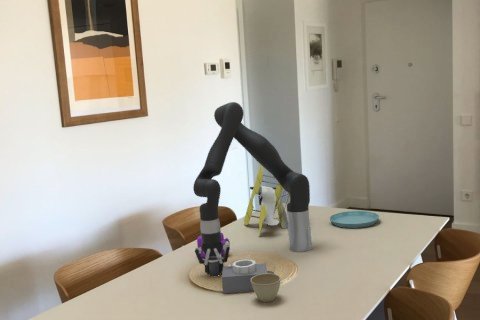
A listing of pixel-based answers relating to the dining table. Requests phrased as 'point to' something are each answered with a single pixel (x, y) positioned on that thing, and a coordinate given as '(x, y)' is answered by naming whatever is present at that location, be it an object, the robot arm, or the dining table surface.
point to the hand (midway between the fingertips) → (214, 272)
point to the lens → (213, 266)
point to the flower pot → (266, 286)
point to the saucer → (354, 219)
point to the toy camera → (224, 241)
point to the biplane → (267, 202)
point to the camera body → (241, 275)
